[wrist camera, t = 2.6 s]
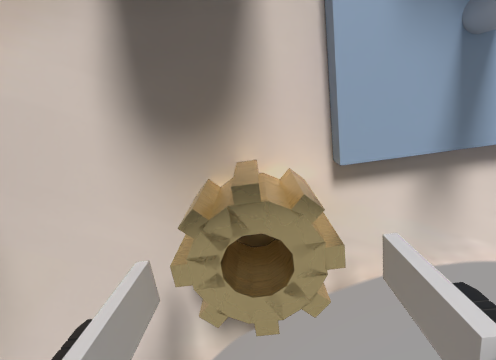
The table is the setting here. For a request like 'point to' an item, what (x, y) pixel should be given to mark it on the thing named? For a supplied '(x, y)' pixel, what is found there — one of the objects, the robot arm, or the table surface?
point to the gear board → (410, 77)
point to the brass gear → (257, 249)
